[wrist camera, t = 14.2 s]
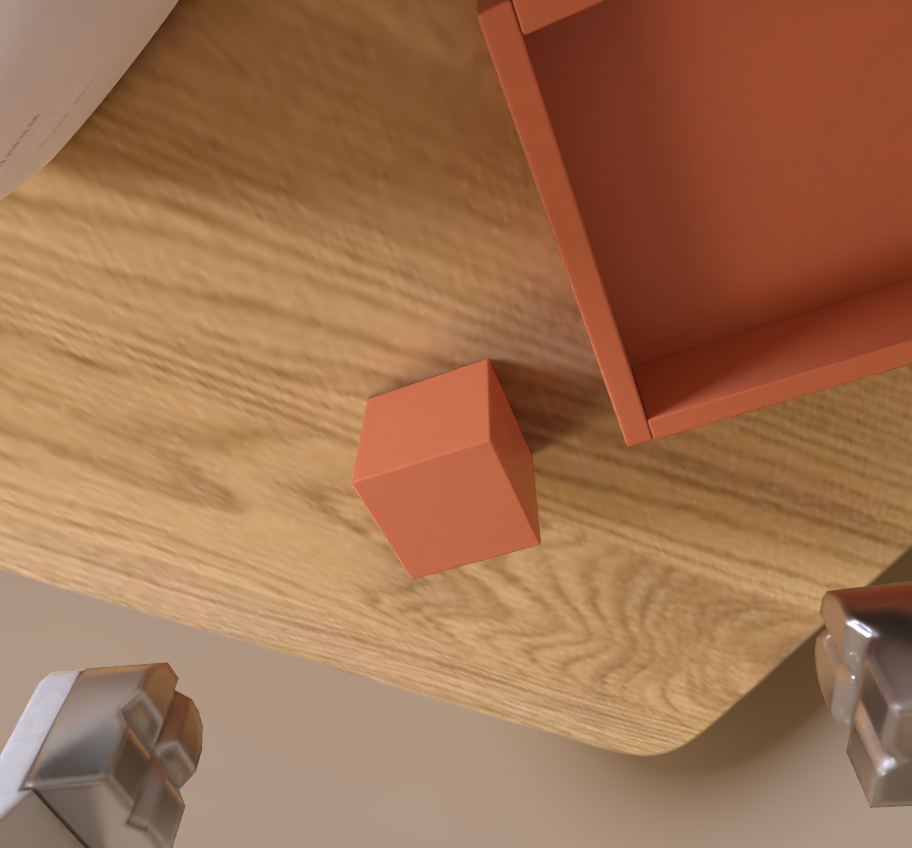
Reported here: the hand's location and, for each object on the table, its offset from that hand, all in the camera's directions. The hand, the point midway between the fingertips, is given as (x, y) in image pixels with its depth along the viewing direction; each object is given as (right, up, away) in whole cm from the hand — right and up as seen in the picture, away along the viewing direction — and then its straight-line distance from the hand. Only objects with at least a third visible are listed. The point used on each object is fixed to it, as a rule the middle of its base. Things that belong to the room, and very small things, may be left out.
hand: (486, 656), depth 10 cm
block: (-1, +3, +18) cm, 18 cm away
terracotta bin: (+9, +11, +11) cm, 18 cm away
